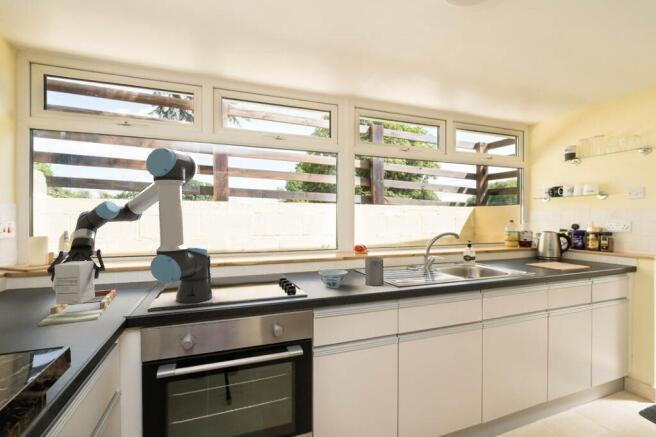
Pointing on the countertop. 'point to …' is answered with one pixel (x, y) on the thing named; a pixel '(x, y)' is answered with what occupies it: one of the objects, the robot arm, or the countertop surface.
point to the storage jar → (209, 270)
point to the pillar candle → (374, 271)
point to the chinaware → (333, 277)
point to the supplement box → (74, 282)
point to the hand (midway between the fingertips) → (73, 286)
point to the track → (85, 315)
